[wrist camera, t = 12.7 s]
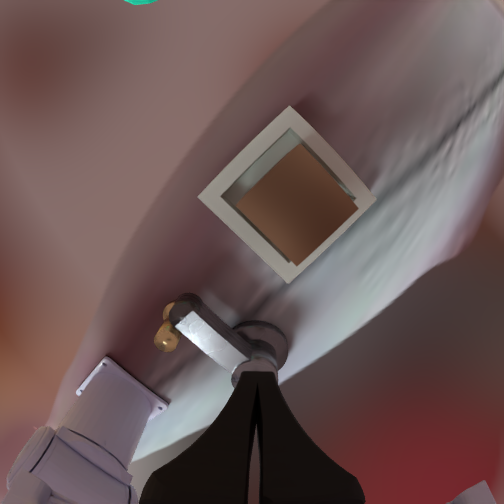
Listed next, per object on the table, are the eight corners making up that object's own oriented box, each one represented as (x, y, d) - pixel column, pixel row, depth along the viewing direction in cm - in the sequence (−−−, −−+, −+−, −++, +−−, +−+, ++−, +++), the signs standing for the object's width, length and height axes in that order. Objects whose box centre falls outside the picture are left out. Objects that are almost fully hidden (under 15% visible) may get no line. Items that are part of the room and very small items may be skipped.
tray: (285, 273, 20) (288, 284, 18) (203, 194, 19) (197, 197, 17) (366, 196, 19) (376, 199, 17) (286, 112, 17) (289, 105, 15)
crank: (285, 357, 21) (288, 385, 18) (254, 377, 21) (253, 405, 18) (197, 276, 19) (185, 296, 16) (169, 304, 20) (154, 326, 17)
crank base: (247, 384, 23) (244, 417, 19) (158, 314, 22) (140, 340, 18) (299, 346, 22) (305, 378, 18) (206, 263, 20) (194, 284, 16)
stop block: (286, 238, 19) (296, 266, 13) (243, 195, 18) (235, 205, 12) (329, 197, 18) (358, 208, 12) (287, 152, 17) (300, 143, 12)
